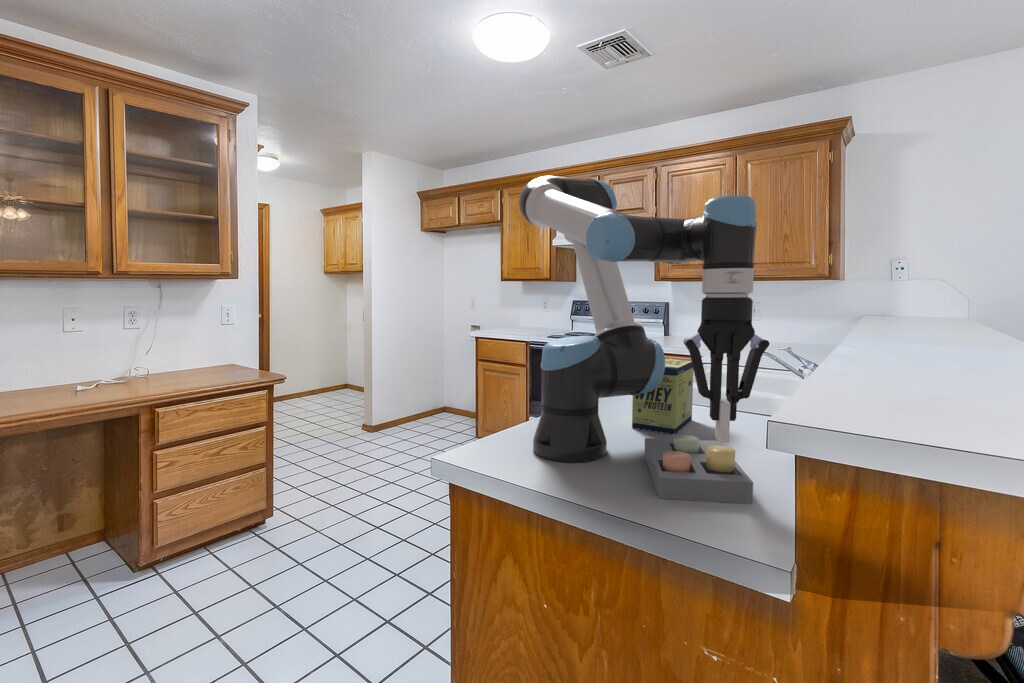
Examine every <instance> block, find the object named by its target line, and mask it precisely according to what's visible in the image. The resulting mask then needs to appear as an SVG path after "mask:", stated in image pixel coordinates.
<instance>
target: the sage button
mask: <svg viewBox="0 0 1024 683" xmlns="http://www.w3.org/2000/svg"><path fill="white" fill-rule="evenodd" d="M673 438H674V451H679V452H684V453H699V440H700V438H699V437H697V436H694V435H688V434H680V435H679V434H677V435H674V437H673Z"/></svg>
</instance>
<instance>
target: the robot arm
mask: <svg viewBox="0 0 1024 683" xmlns="http://www.w3.org/2000/svg"><path fill="white" fill-rule="evenodd" d="M617 201H618V200H617V197H616V194H615V192H614V190H613V188H612V187H611V186H610V184H608V183H607V182H605V181H602V180H599V179H594V178H575V177H566V176H556V175H555V176H554V175H543V176H539V177H537V178H533V179H532V180H531V181H529V182H528V183H527V184H526V185H525V186H524V187H523V189H522V191H521V192H520V195H519V200H518V206H519V211H520V213H521V215H522V217H523V218H524V220H526V222H528V223H530V225H533V226H536V227H537V228H540V229H541V228H542V229H547V228H550V229H552V230H554V231H556V232H558V233H561V234H562V235H564V239H565V240H566V241H567V242H568V243H571V244H572V245H573V249H574V253H575V256H576V259H577V260H576V261H577V263H578V267H579V272H580V276H581V278H582V282H583V287H584V290H585V294H586V298H587V302H588V306H589V310H590V314H591V317H592V320H593V324H594V328H595V331H596V332H595V334H594V335H578V336H566V337H561V338H556V339H553V340H550V341H548V342H547V343H545V344H544V346H543V347H542V350H541V351H542V353H541V362H540V369H541V370H540V371H541V372H540V373H541V376H540V377H541V414H540V417H539V420H538V423H537V426H536V429H535V432H534V436H533V440H532V441H533V442H532V450H533V453H535V454H536V455H537V456H539V457H542V458H544V459H547V460H552V461H557V462H563V463H564V462H565V463H579V462H580V463H581V462H582V463H583V462H589V461H595V460H598V459H600V458H602V457H604V456H606V454H607V451H608V450H607V448H608V447H607V446H608V445H607V438H606V434H605V431H604V429H603V428H604V427H603V425H602V421H601V419H600V415H599V402H600V400H599V399H603V398H611V397H624V396H633V395H638V394H641V393H647V392H650V391H652V390H654V389H655V388H656V387H657V386H658V385H659V383H660V382H661V380H662V376H663V374H664V370H665V358H666V357H665V353H664V350H663V347H662V345H661V344H660V343H659V342H657V341H656V340H654V339H652V338H647V334H646V331H645V328H644V326H643V325H641V324H639V323H637V322H635V318H634V316H633V313H632V309H631V306H630V301H629V299H628V296H627V291H626V288H625V285H624V282H623V278H622V275H621V274H622V273H621V271H620V267H619V264H618V262H647V263H648V262H651V263H652V262H654V263H663V264H668V265H669V264H672V265H673V264H676V265H679V264H683V263H689V262H690V263H691V262H692V263H693V262H700V261H702V286H701V288H702V289H701V290H702V291H701V293H702V294H703V295H705V297H703V298H702V299H701V312H700V313H701V315H700V316H701V319H700V320H701V321H700V325H699V326H698V329H697V333H696V334H693V335H692V336H690V337H686V338H684V340H683V344H684V346H685V348H686V349H687V350H688V351H689V355H690V360H691V361H692V365H693V369H694V371H693V375H694V378H695V381H696V382H695V383H696V386H697V391H698V394H699V395H700V396H702V397H703V398H706V399H708V400H709V417H710V419H711V420H712V421H715V427H714V428H715V431H714V432H715V435H714V437H715V439H716V441H719V443H729V442H730V429H731V428H730V424H731V422H735V421H736V419H737V411H738V410H737V409H738V408H737V407H738V403H739V401H740V400H742V399H748V398H749V397H750V396H751V392H752V389H753V386H754V383H755V379H756V375H757V372H758V370H759V366H760V364H761V363H760V362H761V359H762V356H763V354H764V353H765V352H766V350H767V349H768V348H769V346H770V342H769V340H767V339H763V338H762V337H760V336H759V335H757V334H756V333H755V332H756V330H755V328H754V326H753V323H752V322H753V307H754V306H753V301H754V300H753V299H752V297H749V296H750V295H751V294H752V293H754V276H755V275H754V274H755V272H754V271H755V270H754V267H755V264H754V263H755V262H754V261H755V249H756V248H755V246H756V233H757V230H756V229H757V226H758V223H757V211H756V210H757V209H756V208H757V207H756V204H757V203H756V201H755V199H754V198H753V197H751V196H748V195H740V194H739V195H737V194H736V195H735V194H734V195H732V194H731V195H723V196H717V197H712V198H710V199H708V200H707V201H706V202H705V204H704V210H703V212H702V213H703V215H700V216H694V217H688V218H675V217H672V218H671V217H659V216H658V217H656V216H639V215H631V214H627V213H624V212H621V211H618V210H616V208H617V207H618V203H617ZM701 341H702V342H703V344H704V345H705V346H706V347H707V349H708V350H709V352H710V353H709V354H710V355H709V356H710V357H709V358H710V369H709V373H710V375H709V377H710V378H709V385H708V381H707V377H706V376H707V375H706V372H705V368H704V363H703V359H702V354H701V352H700V348H701V347H702V344H701ZM749 342H750V343H749ZM748 344H749V347H750V350H749V351H748V355H747V359H746V362H745V364H744V367H743V368H744V369H743V371H742V375H741V378H740V377H739V376H740V360H741V352H742V351H743V350H744V349H745V348H746V347H747V345H748ZM724 354H726V383H725V386H726V387H725V396H726V398H725V399H724V398H722V380H723V379H722V378H723V377H722V376H723V360H724ZM739 378H740V381H739ZM708 386H709V387H708Z"/></svg>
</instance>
